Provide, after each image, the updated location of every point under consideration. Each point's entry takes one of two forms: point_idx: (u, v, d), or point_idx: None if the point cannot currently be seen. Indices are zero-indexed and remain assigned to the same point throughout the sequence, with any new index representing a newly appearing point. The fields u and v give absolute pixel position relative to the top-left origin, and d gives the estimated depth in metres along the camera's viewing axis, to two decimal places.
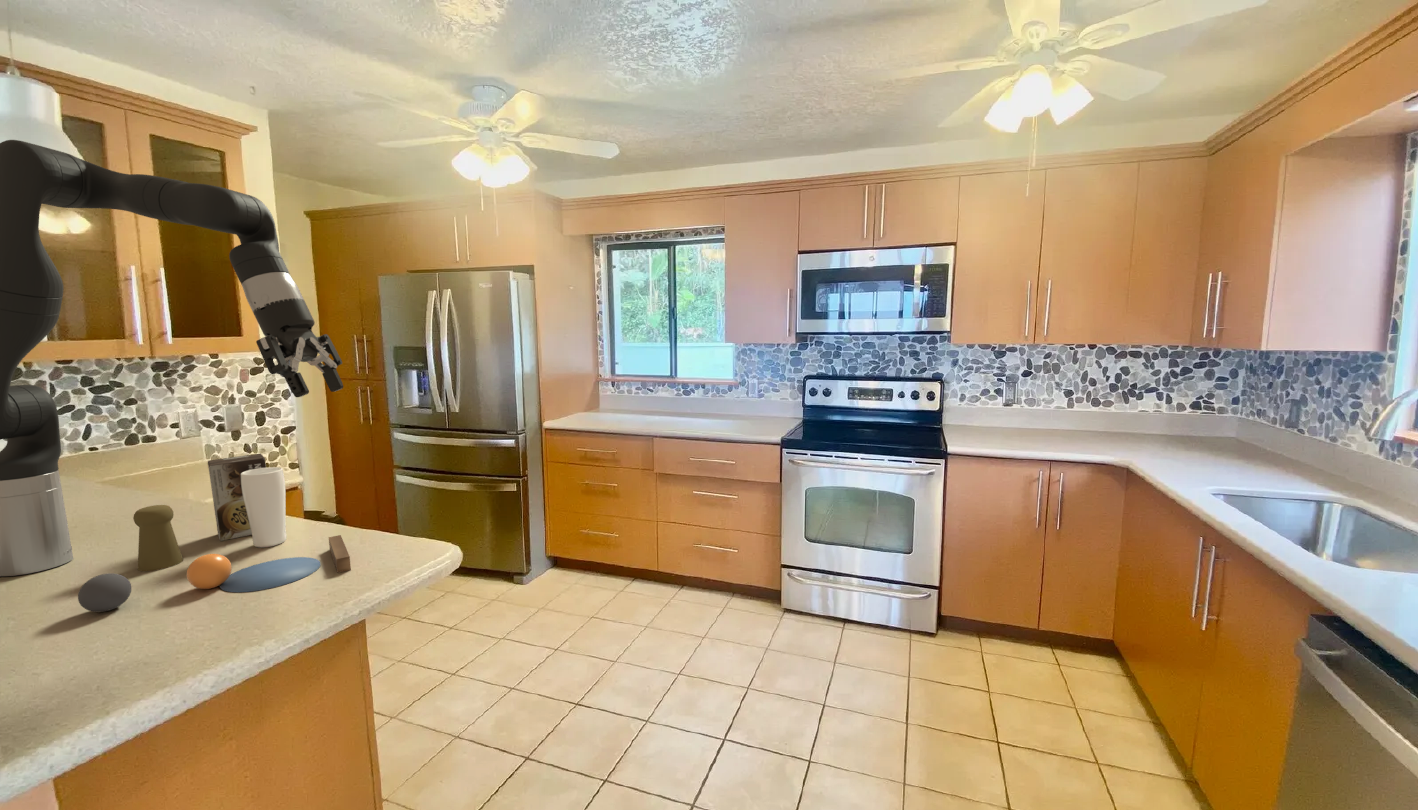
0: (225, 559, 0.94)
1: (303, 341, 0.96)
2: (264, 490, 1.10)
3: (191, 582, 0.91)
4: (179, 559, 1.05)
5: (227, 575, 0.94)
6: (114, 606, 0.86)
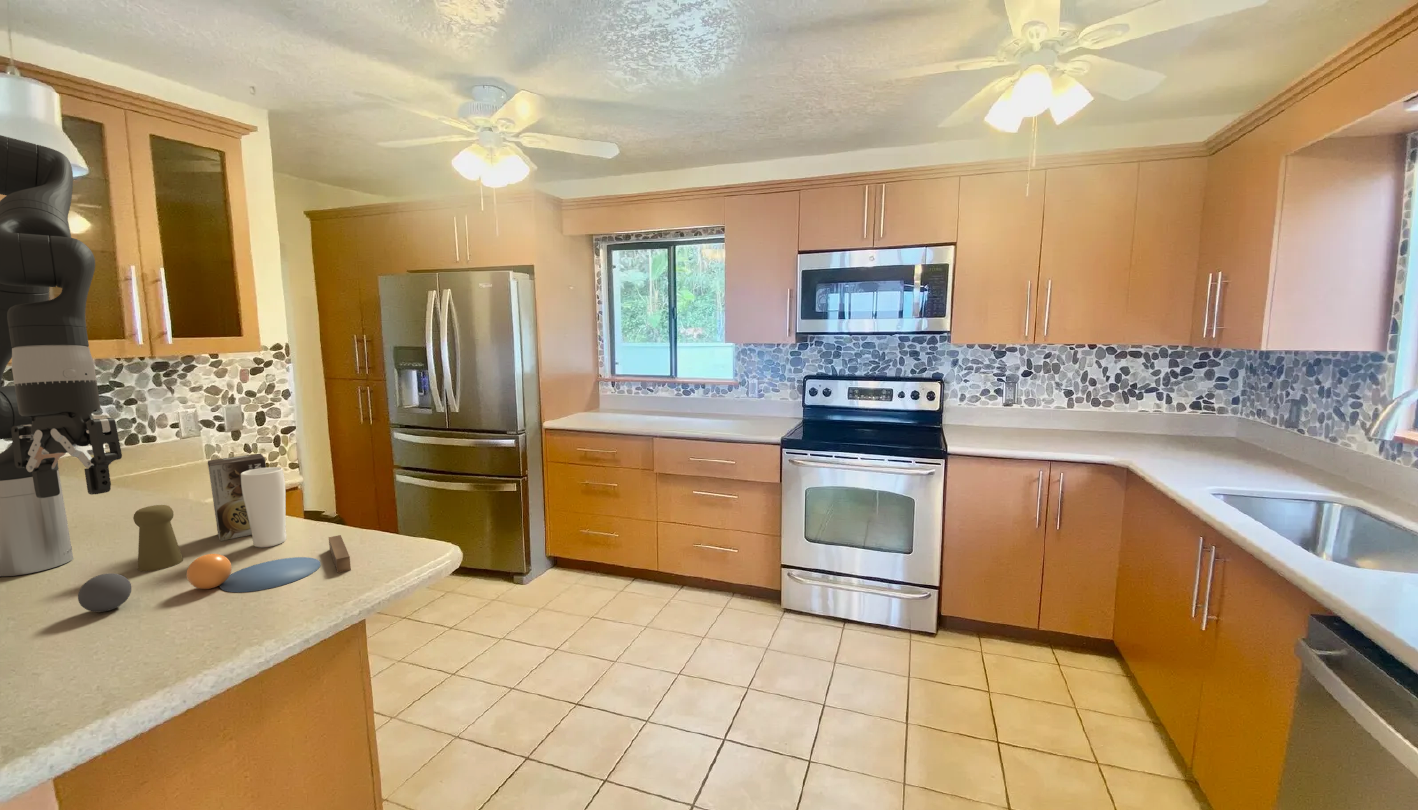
0: (225, 559, 0.94)
1: (40, 435, 0.77)
2: (264, 490, 1.10)
3: (191, 582, 0.91)
4: (179, 559, 1.05)
5: (227, 575, 0.94)
6: (114, 606, 0.86)
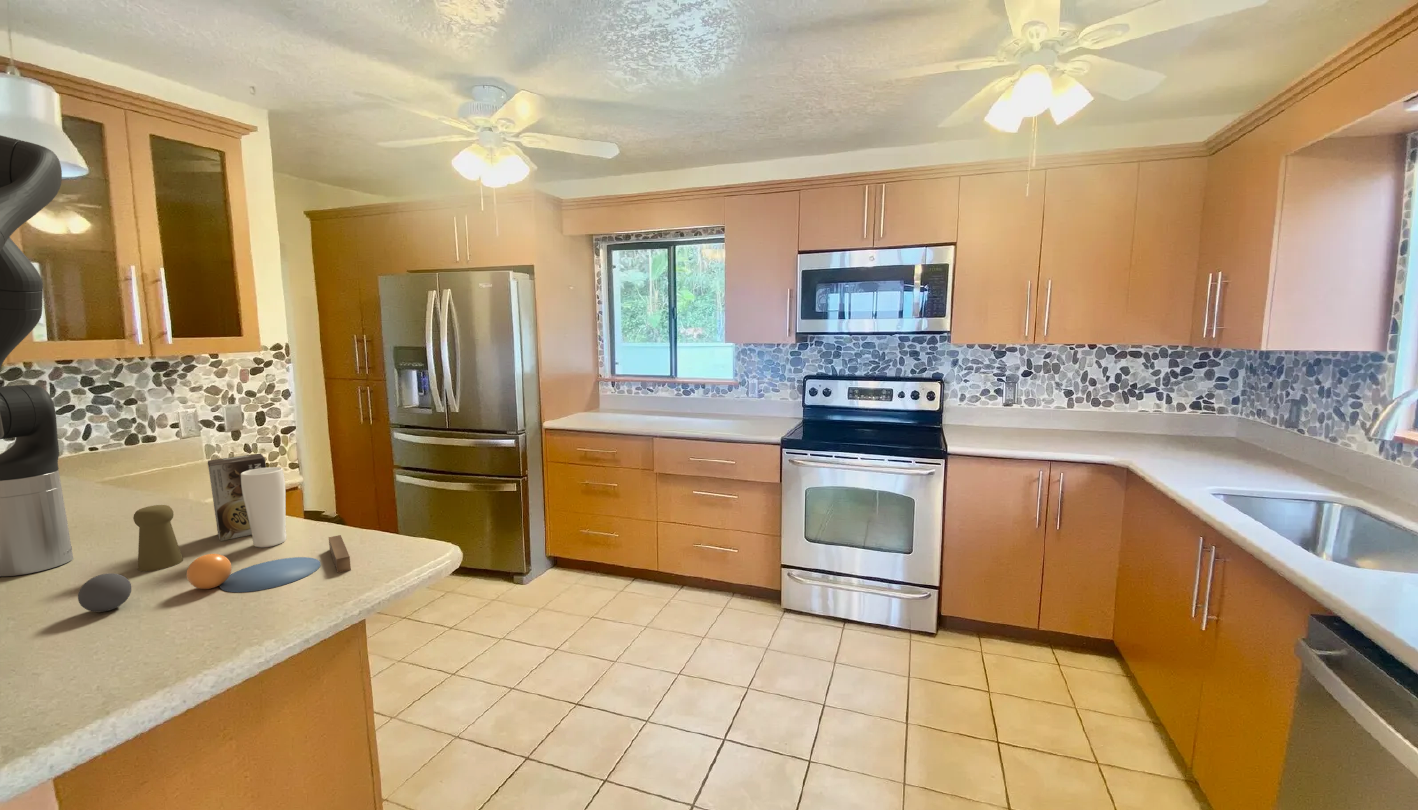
0: (225, 559, 0.94)
1: None
2: (264, 490, 1.10)
3: (191, 582, 0.91)
4: (179, 559, 1.05)
5: (227, 575, 0.94)
6: (114, 606, 0.86)
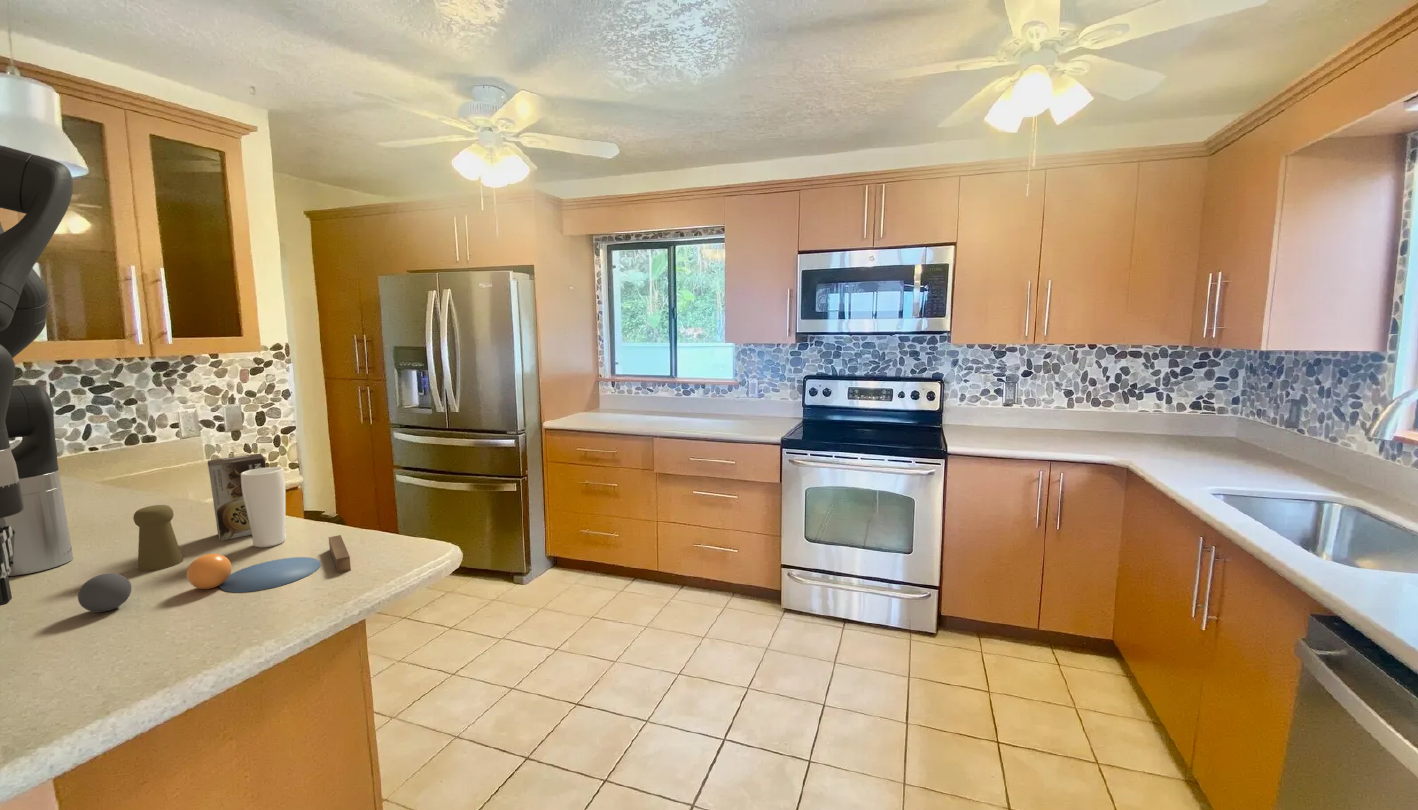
0: (225, 559, 0.94)
1: None
2: (264, 490, 1.10)
3: (191, 582, 0.91)
4: (179, 559, 1.05)
5: (227, 575, 0.94)
6: (114, 606, 0.86)
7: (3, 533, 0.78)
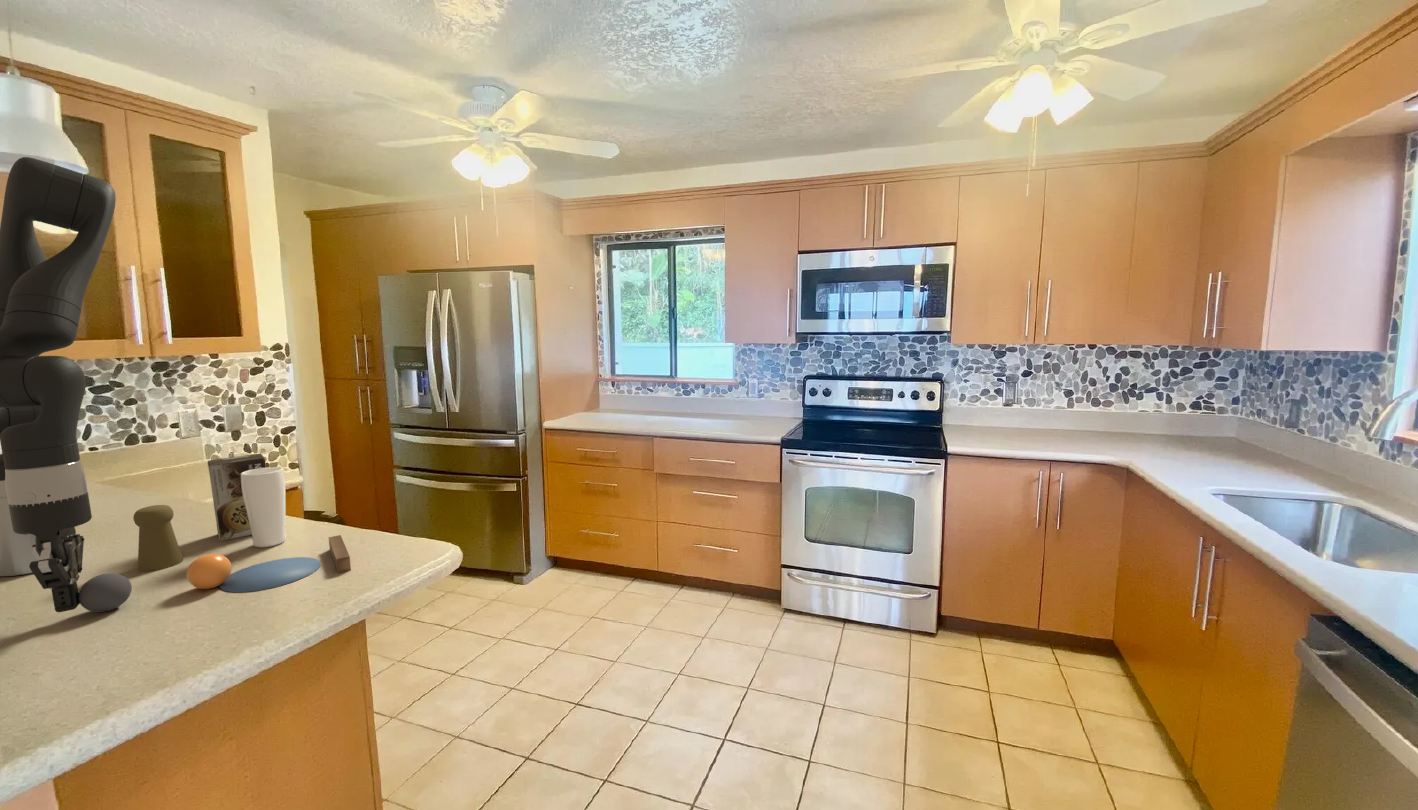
0: (225, 559, 0.94)
1: None
2: (264, 490, 1.10)
3: (191, 582, 0.91)
4: (179, 559, 1.05)
5: (227, 575, 0.94)
6: (114, 606, 0.86)
7: (72, 542, 0.82)
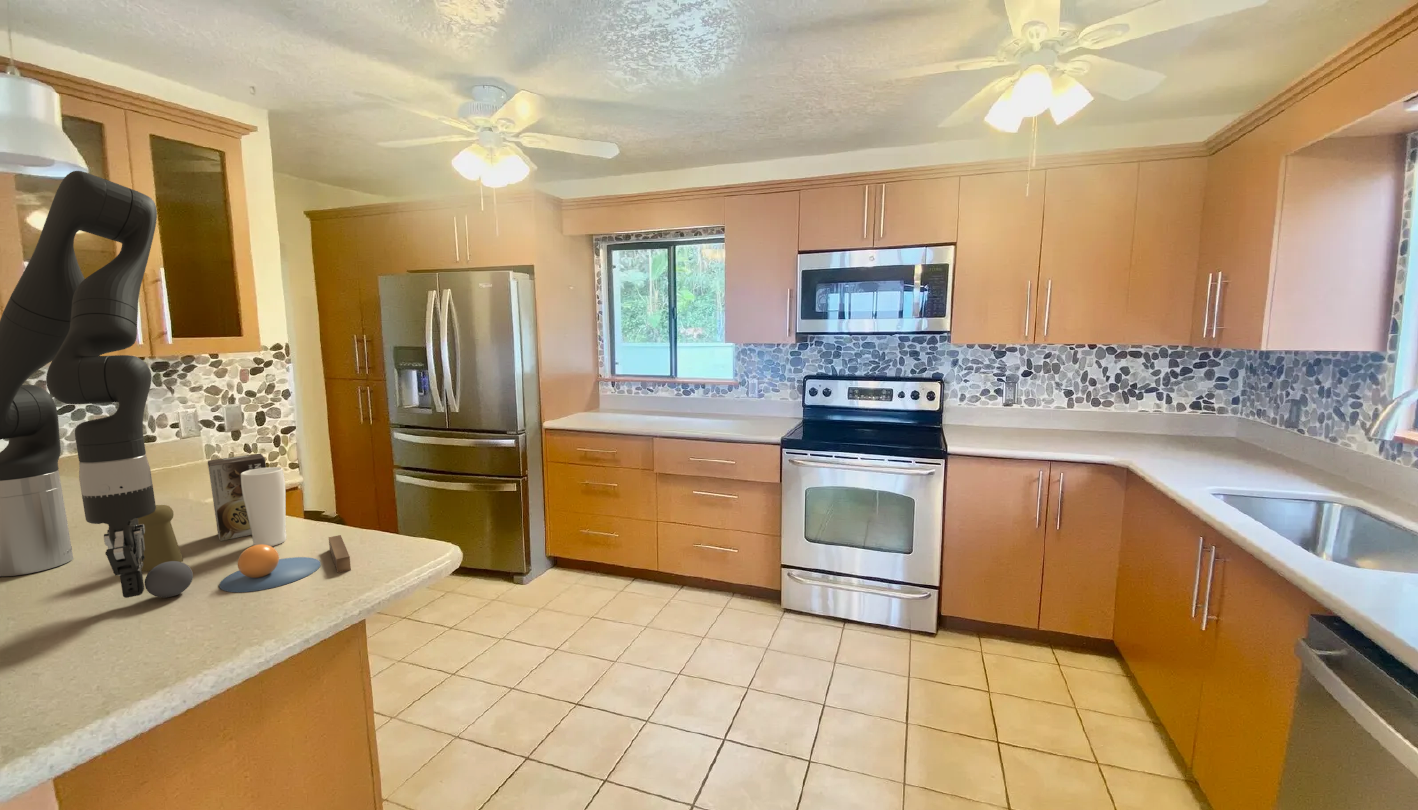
0: None
1: None
2: (264, 490, 1.10)
3: (263, 550, 0.97)
4: (179, 559, 1.05)
5: (243, 573, 0.95)
6: (148, 583, 0.88)
7: (140, 531, 0.87)
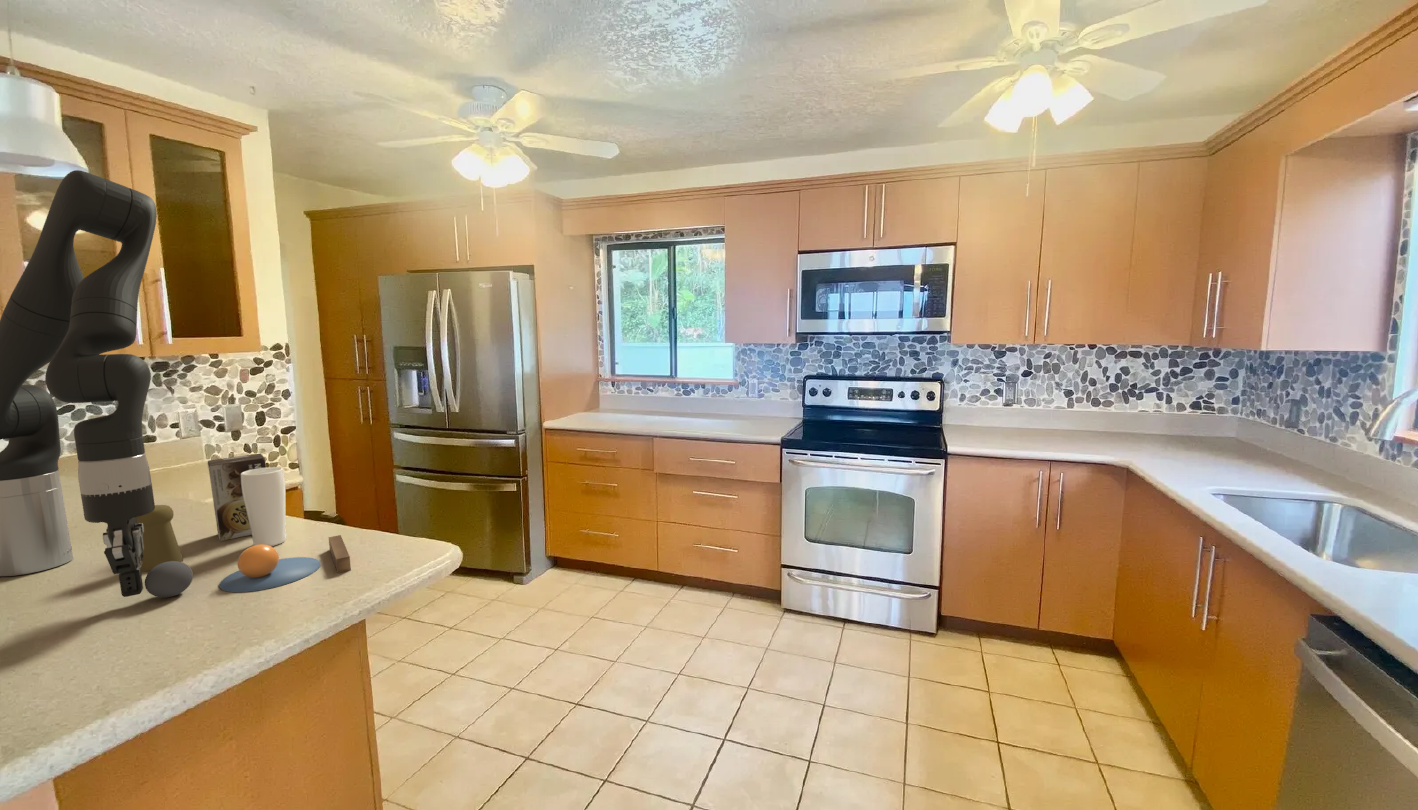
0: None
1: None
2: (264, 490, 1.10)
3: (263, 550, 0.97)
4: (179, 559, 1.05)
5: (243, 573, 0.95)
6: (148, 583, 0.88)
7: (139, 530, 0.87)
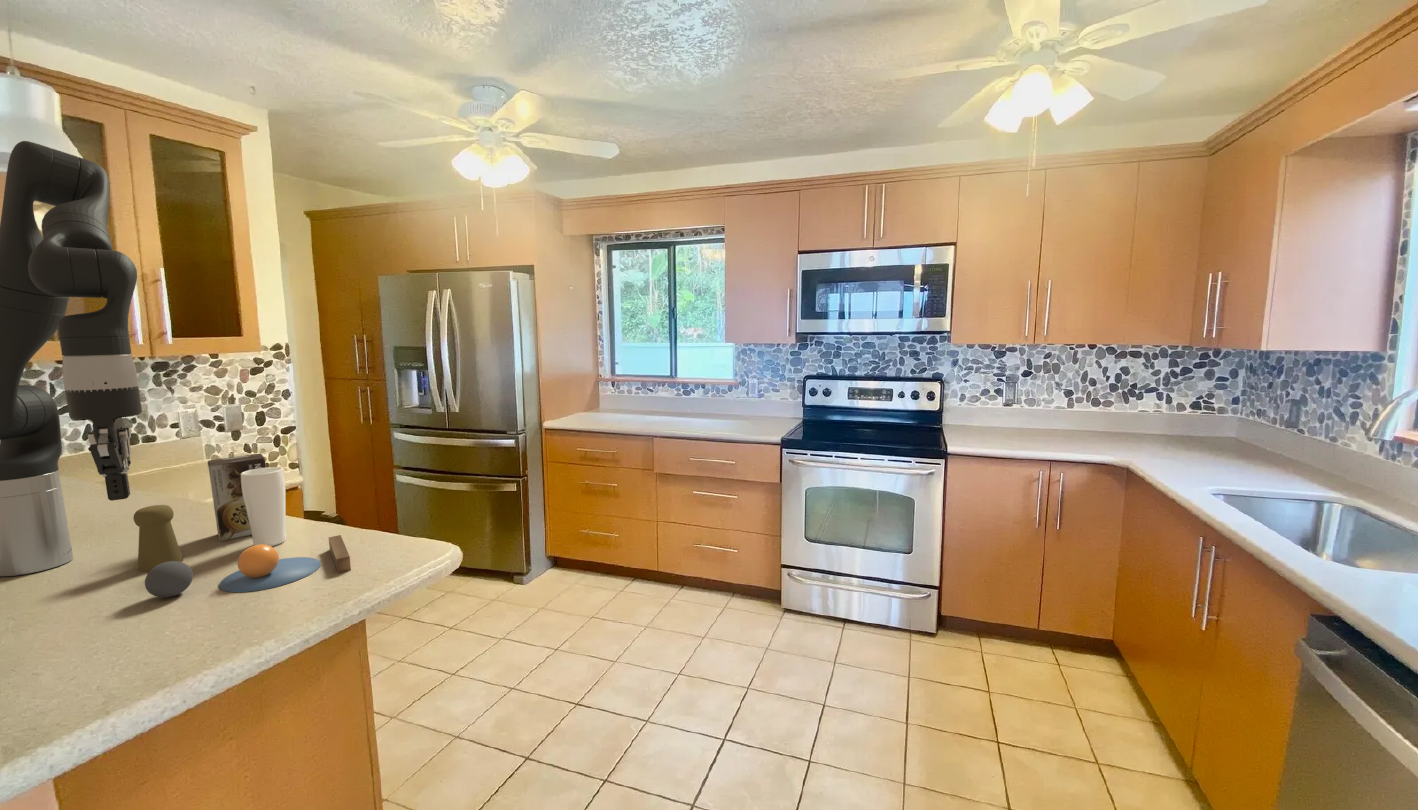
0: None
1: None
2: (264, 490, 1.10)
3: (263, 550, 0.97)
4: (179, 559, 1.05)
5: (243, 573, 0.95)
6: (148, 583, 0.88)
7: (126, 432, 0.85)
